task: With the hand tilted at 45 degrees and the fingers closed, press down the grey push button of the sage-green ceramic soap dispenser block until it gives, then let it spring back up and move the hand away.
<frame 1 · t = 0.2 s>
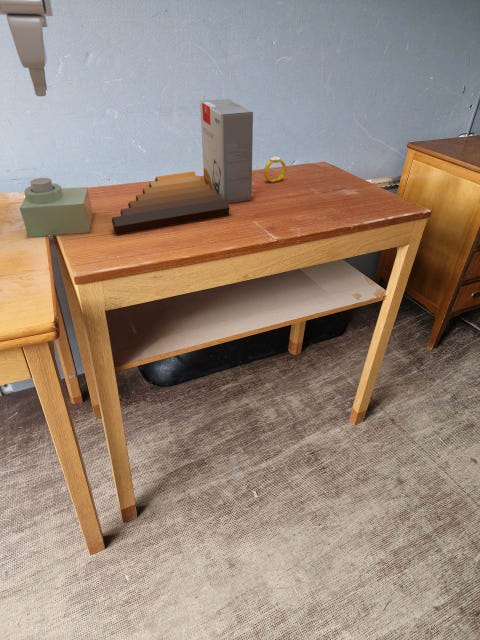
hand: (42, 93, 84), 25 cm above the table, tool pointing down, fingers open, 8 cm apart
yellow toy ring: (274, 181, 118), on the table
hard drive box: (226, 192, 111), on the table
pan flute: (159, 206, 103), on the table
grey push button: (42, 185, 89), point 9 cm above the table, slide at 0.1 cm
dispenser: (62, 224, 94), on the table
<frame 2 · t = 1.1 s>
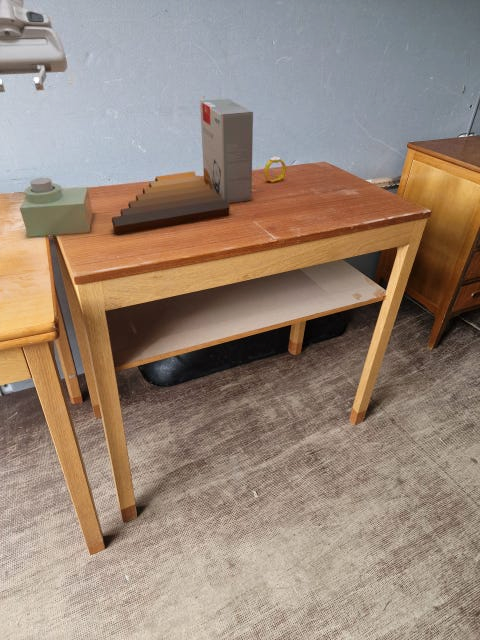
hand: (20, 89, 89), 24 cm above the table, tool tilted 45°, fingers open, 6 cm apart
nothing on the table moved.
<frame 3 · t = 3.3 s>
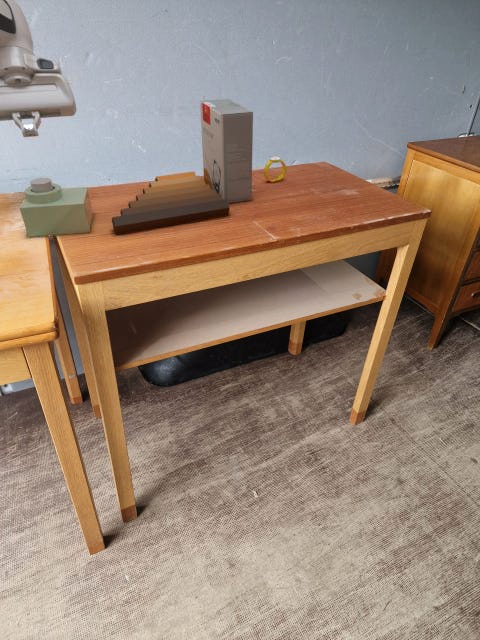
hand: (30, 135, 90), 17 cm above the table, tool tilted 45°, fingers closed
nothing on the table moved.
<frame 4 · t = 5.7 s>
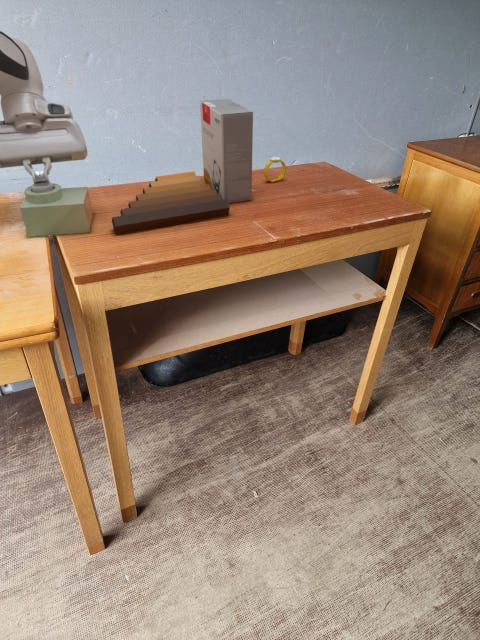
hand: (41, 181, 89), 9 cm above the table, tool tilted 45°, fingers closed, pressing on grey push button
grey push button: (43, 189, 90), point 8 cm above the table, slide at -0.8 cm, touching gripper
everything else where it was.
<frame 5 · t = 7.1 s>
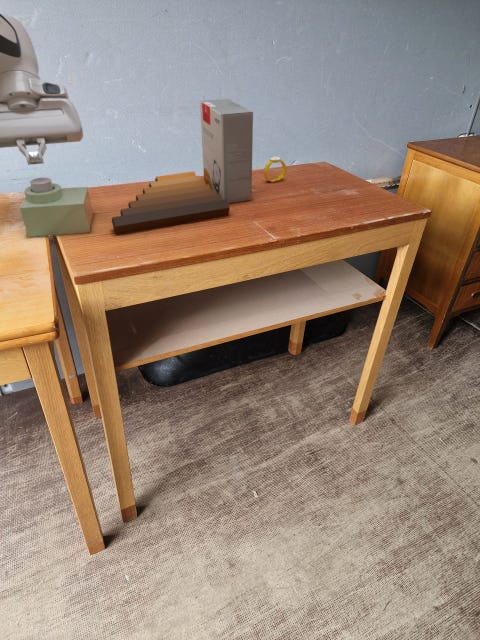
hand: (35, 162, 86), 13 cm above the table, tool tilted 45°, fingers closed
grey push button: (42, 185, 89), point 9 cm above the table, slide at 0.1 cm
everything else where it was.
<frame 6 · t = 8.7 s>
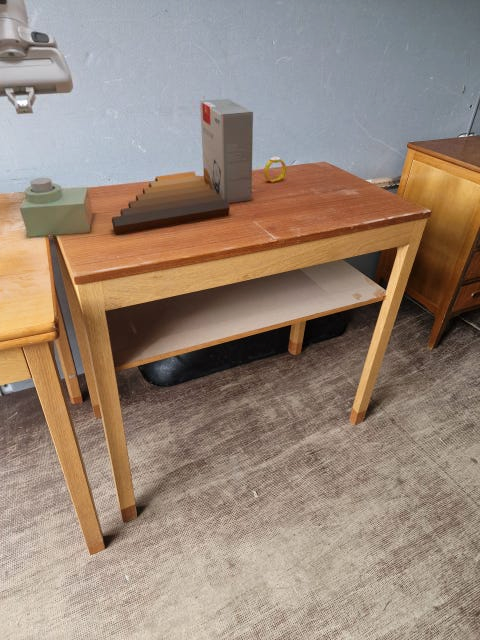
hand: (24, 111, 86), 21 cm above the table, tool tilted 45°, fingers closed
nothing on the table moved.
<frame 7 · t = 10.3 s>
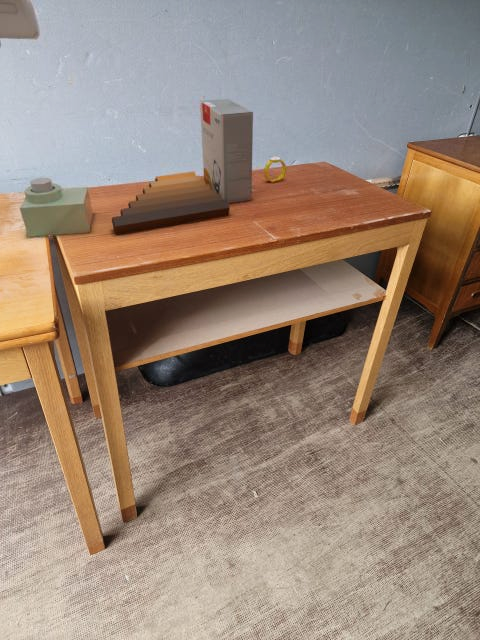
nothing on the table moved.
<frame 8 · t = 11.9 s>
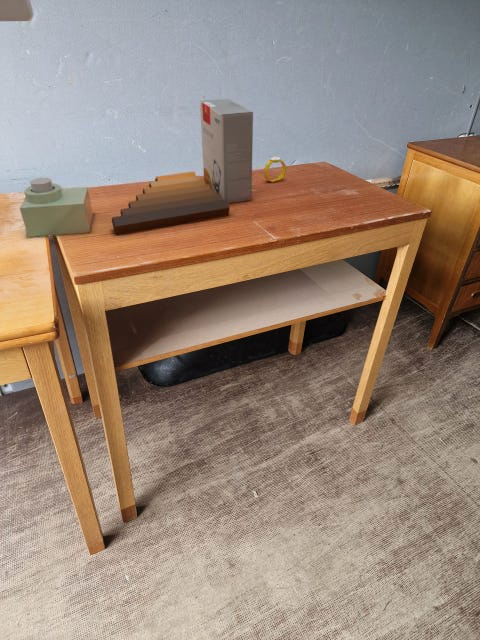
nothing on the table moved.
at the end: grey push button pushed in 1.3 cm at the most during the clip, back to where it started at the end; grey push button slide at 0.1 cm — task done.
